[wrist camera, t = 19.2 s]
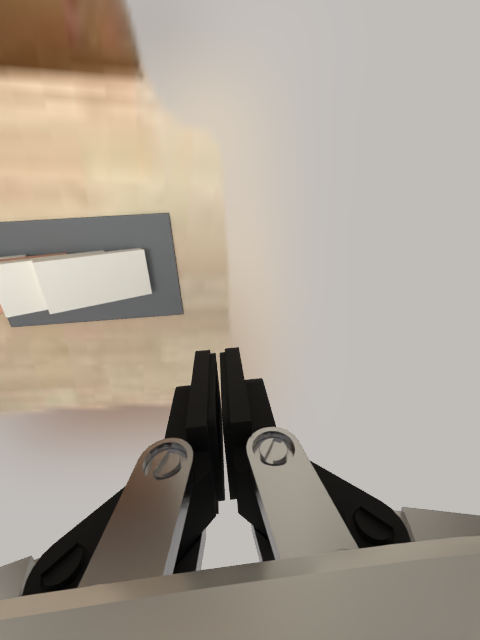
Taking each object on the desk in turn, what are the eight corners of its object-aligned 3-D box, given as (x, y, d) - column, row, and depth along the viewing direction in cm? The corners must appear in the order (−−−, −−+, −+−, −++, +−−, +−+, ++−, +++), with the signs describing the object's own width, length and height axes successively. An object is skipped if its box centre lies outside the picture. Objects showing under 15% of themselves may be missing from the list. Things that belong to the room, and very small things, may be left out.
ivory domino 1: (105, 251, 29) (-16, 266, 24) (116, 296, 31) (6, 317, 26) (102, 250, 30) (-12, 263, 26) (112, 292, 32) (8, 312, 27)
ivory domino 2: (144, 249, 29) (32, 262, 24) (152, 293, 31) (49, 314, 26) (139, 247, 31) (32, 260, 26) (147, 290, 33) (49, 308, 28)
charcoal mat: (183, 313, 35) (182, 314, 34) (13, 325, 34) (11, 327, 33) (168, 212, 30) (168, 213, 30) (-29, 224, 29) (-32, 224, 28)
